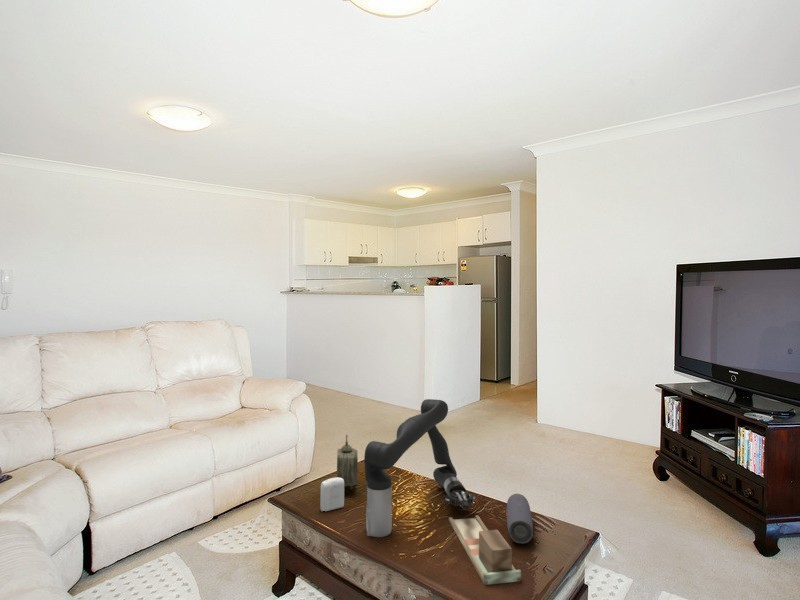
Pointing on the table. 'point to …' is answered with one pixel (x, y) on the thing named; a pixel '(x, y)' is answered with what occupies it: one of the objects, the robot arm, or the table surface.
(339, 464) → the grey-brown tall piece
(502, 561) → the walnut block
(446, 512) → the table surface
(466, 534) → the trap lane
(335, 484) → the photo printer
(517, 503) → the bluetooth speaker
